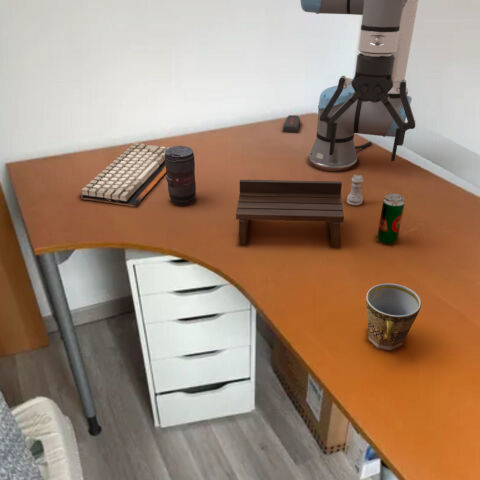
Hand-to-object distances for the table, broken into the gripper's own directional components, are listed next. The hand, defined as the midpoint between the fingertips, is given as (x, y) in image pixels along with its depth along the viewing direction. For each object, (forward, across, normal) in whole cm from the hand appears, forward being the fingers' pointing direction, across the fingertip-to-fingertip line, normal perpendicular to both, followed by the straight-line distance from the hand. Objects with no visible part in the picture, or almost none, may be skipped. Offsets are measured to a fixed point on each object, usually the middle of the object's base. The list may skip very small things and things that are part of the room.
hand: (361, 156), depth 118 cm
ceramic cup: (+26, +11, -33) cm, 44 cm away
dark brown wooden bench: (+23, -16, +3) cm, 28 cm away
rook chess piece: (+21, -1, +23) cm, 31 cm away
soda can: (+22, +9, +6) cm, 25 cm away
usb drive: (+16, -30, +77) cm, 85 cm away
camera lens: (+22, -49, +13) cm, 55 cm away
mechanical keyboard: (+21, -70, +24) cm, 77 cm away
